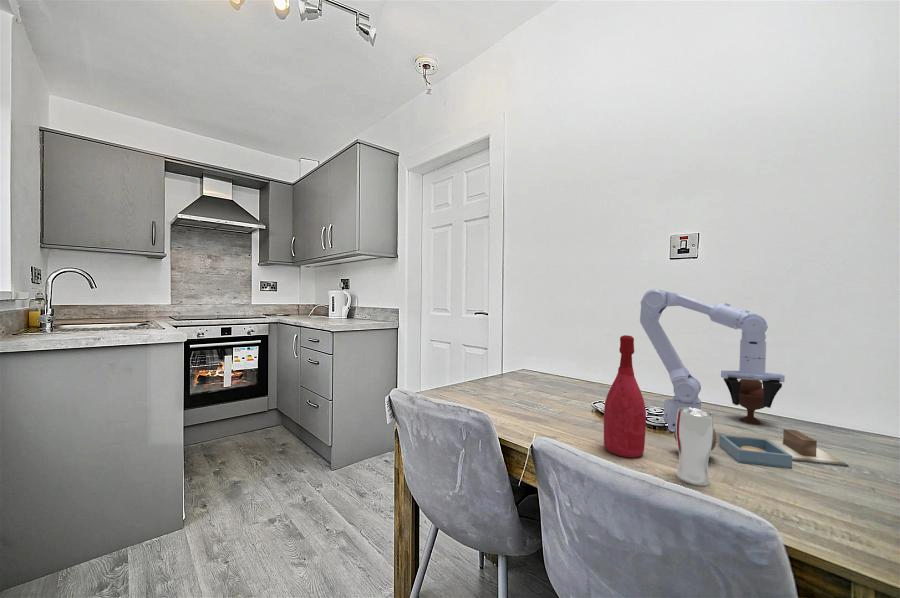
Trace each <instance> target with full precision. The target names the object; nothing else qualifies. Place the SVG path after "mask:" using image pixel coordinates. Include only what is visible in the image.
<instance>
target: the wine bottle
mask: <svg viewBox="0 0 900 598" xmlns="http://www.w3.org/2000/svg"><path fill="white" fill-rule="evenodd" d="M619 341H620V342H619V345H620V346H619V350H618V351H619V353H620V362H619V367H618V369H617V374H616V377H615V378H614V381H613V382H612V384H611V386H610V388H609V390H608V392H607V394H606V398H605V401H604V407H603V408H604V409H603V446H604V448H605V450H607V451H608V452H609V453H611V454H614V455H616V456H618V457H624V458H639V457H641V456H642V455H643V454H644V452H645V443H646V424H647V411H646V410H647V409H646V403H645V400H644V396H643V394H642V391H641V389H640V386H639V384H638V381H637V379H636V377H635V372H634V367H633V356H632V355H633V354H634V353H635V339H634V337H633V336H632V335H627V334H626V335H621V336H620V338H619Z"/></svg>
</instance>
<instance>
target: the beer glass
mask: <svg viewBox="0 0 900 598" xmlns="http://www.w3.org/2000/svg"><path fill="white" fill-rule="evenodd" d="M713 414H714V413H712V412H710V411H708V410H705V409H702V408H701V409H697V408H688V407H682V408H678V413H677V421H676V438H677V441H676V442H677V443H676V444H677V451H678V459H679V461H678V467H677V471H676V477H677V478H678V479H679V480H680V481H682V482H684V483H686V484H689V485H692V486H698V487H704V486H705V487H706V486H709V484H710V478H709V477H710V476H709V471H708V467H709V458H710V456H711V452H712V451H711V448H712V443H713V428H714V417H713V416H714V415H713Z"/></svg>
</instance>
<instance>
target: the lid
mask: <svg viewBox="0 0 900 598" xmlns="http://www.w3.org/2000/svg"><path fill="white" fill-rule="evenodd" d="M782 439H783V440H772V439H767V440H768V441H770V442H772V443H773V444H775V445H776V446H778V447H779V448H781V449H782V450H784V451H786V452H787V453H789V454H790V455H792V459H797V460H806V461H815V462H824V463H833V464H843V465H844V463H845V462H844V461H842V460H840V459H839V460H838V458H836V457H835V456H833V455H832V454H830V453H828V452H826V451H824V450H822V449H821V448H818V447H817V442H818V441H817V440H816V439H813V438H812V437H809V436H808V435H806V434H804V433H803V432H800V431H798V430H797V429H786V428H784V429H783V438H782ZM820 449H821V450H820ZM829 454H830V455H829Z"/></svg>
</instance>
